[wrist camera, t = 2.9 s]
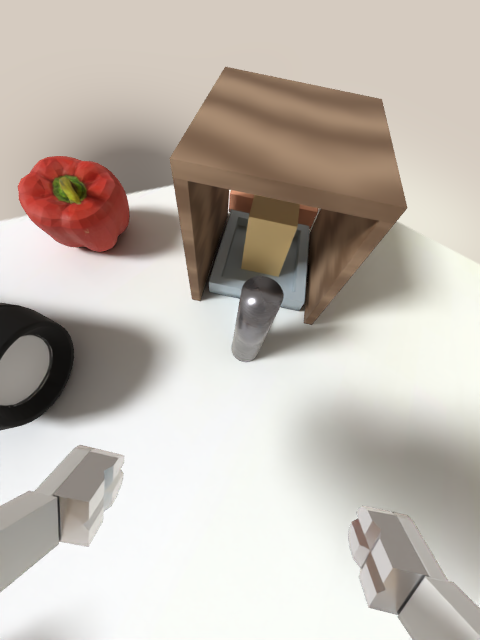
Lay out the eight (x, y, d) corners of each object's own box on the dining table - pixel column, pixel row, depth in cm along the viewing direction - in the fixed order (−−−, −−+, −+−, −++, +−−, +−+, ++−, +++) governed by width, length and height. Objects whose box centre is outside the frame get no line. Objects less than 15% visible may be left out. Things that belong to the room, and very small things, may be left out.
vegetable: (152, 254, 32) (129, 181, 23) (70, 283, 28) (4, 211, 20) (124, 205, 35) (94, 126, 27) (48, 226, 32) (-14, 144, 23)
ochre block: (247, 241, 33) (256, 187, 26) (282, 249, 33) (300, 196, 26) (240, 268, 31) (248, 216, 24) (278, 276, 31) (297, 227, 24)
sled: (230, 221, 35) (236, 137, 26) (305, 236, 35) (338, 159, 26) (191, 350, 26) (176, 293, 16) (294, 372, 25) (342, 328, 16)
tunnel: (221, 214, 36) (225, 66, 22) (316, 234, 36) (381, 99, 22) (192, 299, 29) (169, 158, 15) (311, 324, 29) (407, 208, 14)
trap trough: (238, 181, 41) (240, 163, 38) (312, 197, 41) (319, 180, 38) (228, 211, 37) (230, 193, 34) (310, 228, 37) (317, 212, 34)
